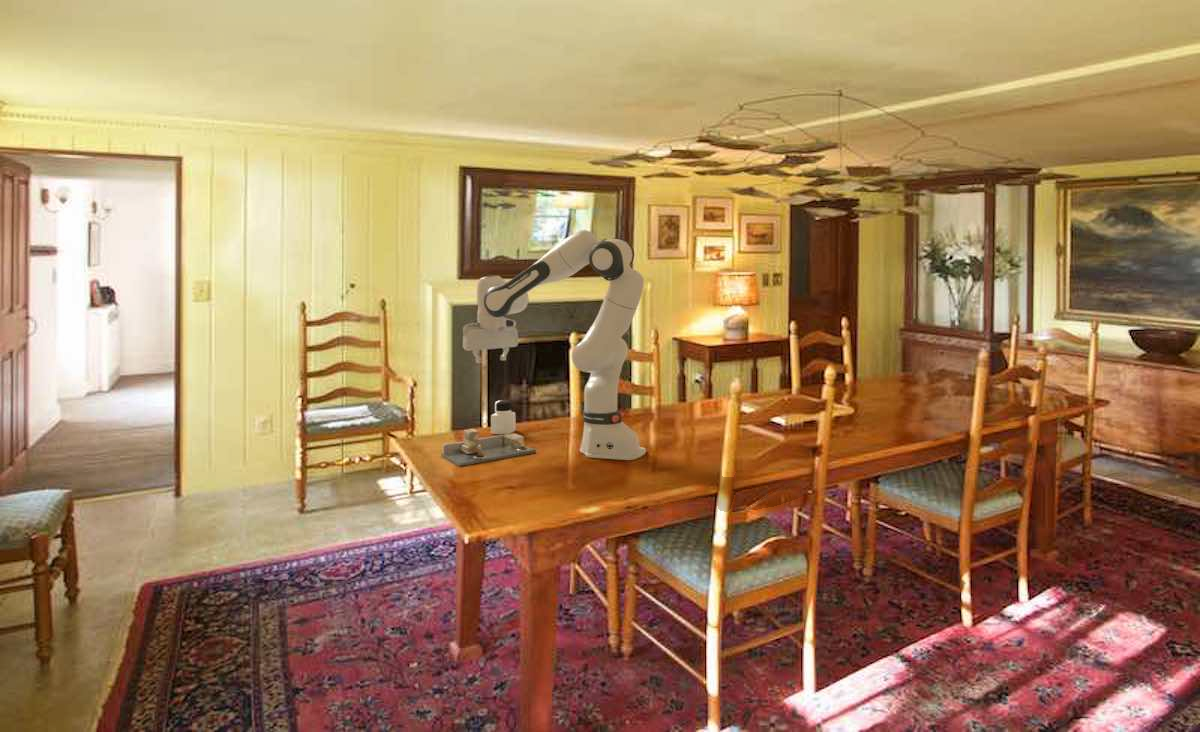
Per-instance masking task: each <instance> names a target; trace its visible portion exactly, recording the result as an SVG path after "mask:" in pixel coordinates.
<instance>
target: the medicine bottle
mask: <svg viewBox="0 0 1200 732" xmlns="http://www.w3.org/2000/svg"><path fill="white" fill-rule="evenodd" d="M490 426H491V427H490V430H491V431H490V433H491V434H492V435H503V434H510V433H515V432H516V430H517V429H516V428H517V426H516V411H515V412H514V411H512V402H511V401H510V400H508V399H501V400H497V401H495V402H494V413H493V414H491V415H490Z"/></svg>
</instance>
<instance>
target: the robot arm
mask: <svg viewBox="0 0 1200 732" xmlns="http://www.w3.org/2000/svg"><path fill="white" fill-rule="evenodd" d="M634 250H635V249H634V247H633V245H632V244H631V242H629V241H628V240H626V239H623V238H606V239H602V240H599V239H598V238H597V236H596V235H595V234H593V232H591V231H590V230H586V229H582V230H578V231H576V232H574V233H572V234H571V235H569V236H567V237H566V238H564V239H562V240H561V241H560V242H559V243H557V244H556V245H554V247H552V248H551V249H550V250H548V252H546V253H545V254H544V255H543V256H542V257H540V258H539V259H537V261H535V262H534V263H533V264H532V265H531V266H529V267H528V268H526V269H525V270H523V271H522V272H521V273H519V274H517V275H516V276H514V277H513V278H511V280H509V281H507V280H504V279H503V277H501V276H500V275H497V274H493V275H488V276H487V275H486V276H483V277H480V279H478V281H477V286H476V303H477V307H478V309H477V315H476V316H477V321H476V322H474V323H467V324H466V325H464V326H463V327H462V348H463V349H464V351H468V352H471V351H472V355H474V358H475V362H476V363H477V364H482V363H483V357H481V356H479V353H480V351H483V350H484V351H485V350H496V349H502V351H503V352H502V354H500V356H499V357H500V358H499V360H500V361H501V362H502V361H507V355H508V353H509V351H510V348H515V347H518V345H519V333H518V332H519V331H518V329H517V328H516V326H517V321H516V320H514V319H511V318H507V317H505V316H508V315H514V314H519V313H521V312H523V311H524V310H526V309H527V307H528V305H529V295H528V292H530V291H532V290H533V289H535V288H536V287H539V286H541V285H545V284H549V283H555V282H560V281H563V280H566V279H567V278H570V277H571V276H573V275H574V274H576V273H578V272H579V271H580V270H582V269H583V268H584V267H586V266H588V265H590V266H591V268H592V270H594V271H595V273H597V274H598V275H599V276H601V277H602V278H603V279H604V280H605V281H609V285H608V288H607V291H606V293H605V296H604V298H603V301H602V303H601V306H600V309H599V311H598V313H597V315H596V318H595V320H594V321H593V323H592V325H590V328H589V329H588V331H587V332H586V334H585V335H584V336H583V338H581V340H580V342H579V343H578V344H577V345H575V346H574V348H573V350H572V352H571V360H572V364H573V366H574V367H575V368H576V369H577V370H578V371H580V372H584V373H590V375H589V377H588V380H587V382H586V384H585V386H584V393H583V394H584V400H583V402H584V409H583V411H582V412H583V413H582V414H583V415H582V424H583V433H582V440H581V444H580V447H579V452H580V453H582V454H584V455H585V457H586V458H592V459H593V458H594V459H605V460H607V459H609V460H619V461H621V460H622V461H632V460H637V459H639V458H641V457H643V456H645V454H646V453H647V450H646V447H643V446H640V439H639V436H638V433H636V432H635V431H634V430H633V429H631V427H629V426H628V425H626V423H624V422H623V417H624V416H625V415H624V414H625V412H620V411H619V410H618V386H619V382H620V377H621V374H622V369H623V365H624V363H625V361H626V359H627V357H628V355H629V347H628V344H627V342H626V340H624V339H623V338H622V337H623V336H624V334H626V332H627V331H629V328H630V327H631V324H632V320H633V319H634V317H635V314H636V312H637V309H638V307H639V303H640V301H641V297H642V294H643V289H644V285H645V280H644V276H643V275H642V274H641V273H640V272H639V271H638V270H636V269H633V268H632V267H631V265H632V263H633V262H634V258H635V251H634Z"/></svg>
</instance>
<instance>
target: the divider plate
mask: <svg viewBox="0 0 1200 732" xmlns="http://www.w3.org/2000/svg"><path fill="white" fill-rule="evenodd" d="M478 443H479V445H481V451H482V455H478V452H476V453H470V454H467V453H465V452H463V451H461V445H463V444H464V440H463V441H457V442H451V443H449V442H448V443H444V444H442V445H441V446H442V453H440V454H441V455H440V457H442V458H444V459H445V460H446V461H449V462H450V463H452V464H454V465H455V466H457V465H458V467H464V466H463V465H465V466H468V465H469V466H470V465H475V463H476V464H480V463H486V462H492V461H498V460H503V458H504V459H508V458H513V457H514V456H515V457H519V456H526V455H530V454H536V453H537V451H536V449H534V448H532V447H531V446H528V445H525V442H524V436H523V435H520V434H517V433H516V432H512V433H511V434H505V435H503V434H498V435H494V436H488V437H480V438H478ZM497 459H498V460H497Z"/></svg>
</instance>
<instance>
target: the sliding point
mask: <svg viewBox="0 0 1200 732" xmlns="http://www.w3.org/2000/svg"><path fill="white" fill-rule="evenodd" d="M462 432H463V441H464V444H463V445H461V451H463V452H465V453H467V454H470V453H476V452H478V455H482V451H481V445H479V443H478V439H479V430H476V429H474V428H470V429H464V430H463V431H462Z"/></svg>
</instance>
